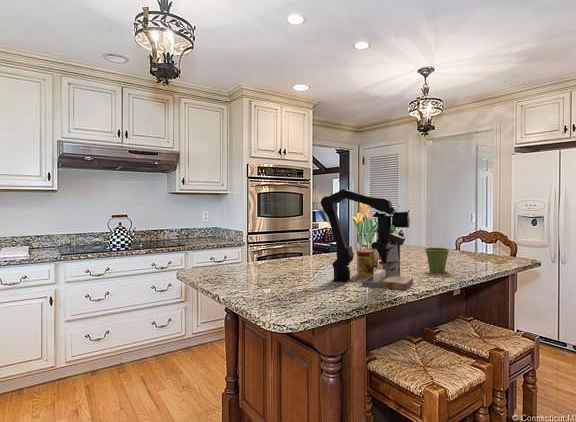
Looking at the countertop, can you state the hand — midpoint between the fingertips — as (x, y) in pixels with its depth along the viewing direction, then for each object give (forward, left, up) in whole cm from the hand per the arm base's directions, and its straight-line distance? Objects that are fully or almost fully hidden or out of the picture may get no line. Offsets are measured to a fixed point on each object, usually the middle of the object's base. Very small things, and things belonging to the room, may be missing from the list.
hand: (384, 263), depth 157 cm
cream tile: (-1, 0, -6) cm, 6 cm away
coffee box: (-3, +21, -9) cm, 23 cm away
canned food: (-14, +15, -9) cm, 22 cm away
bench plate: (+5, 0, -9) cm, 10 cm away
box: (-3, 0, -9) cm, 10 cm away
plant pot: (+15, +41, -9) cm, 44 cm away
